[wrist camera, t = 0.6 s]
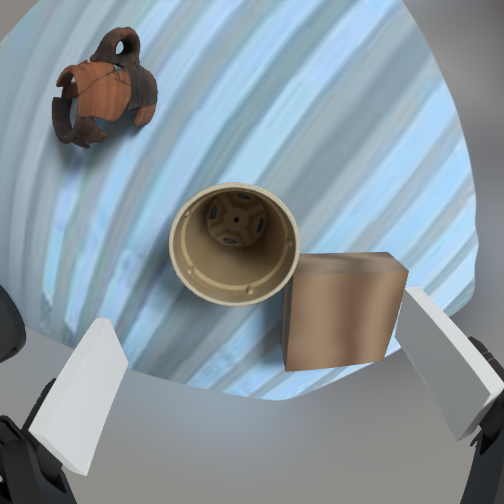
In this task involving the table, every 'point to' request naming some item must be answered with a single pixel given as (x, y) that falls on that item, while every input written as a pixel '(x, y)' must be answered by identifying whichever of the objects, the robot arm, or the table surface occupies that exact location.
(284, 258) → the flower pot
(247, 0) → the table surface
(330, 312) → the walnut stand
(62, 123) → the broken clay jug
